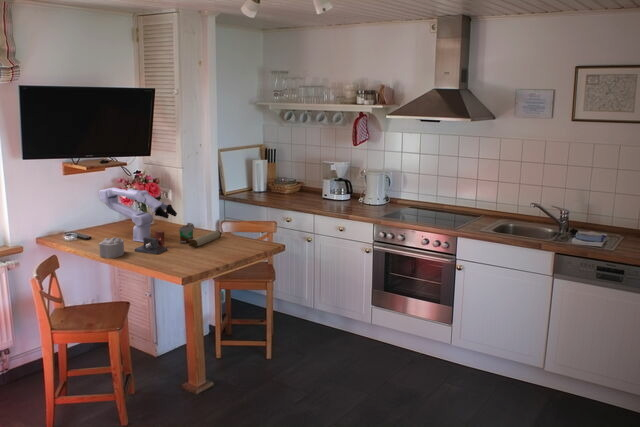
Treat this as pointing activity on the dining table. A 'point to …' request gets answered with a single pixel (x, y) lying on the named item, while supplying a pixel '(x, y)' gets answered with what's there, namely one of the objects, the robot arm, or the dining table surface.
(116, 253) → the lumpy-topped squat cylinder
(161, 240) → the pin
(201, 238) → the rolling pin
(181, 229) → the food container
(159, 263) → the dining table surface
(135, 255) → the dining table surface
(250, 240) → the dining table surface
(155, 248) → the eye bracket
